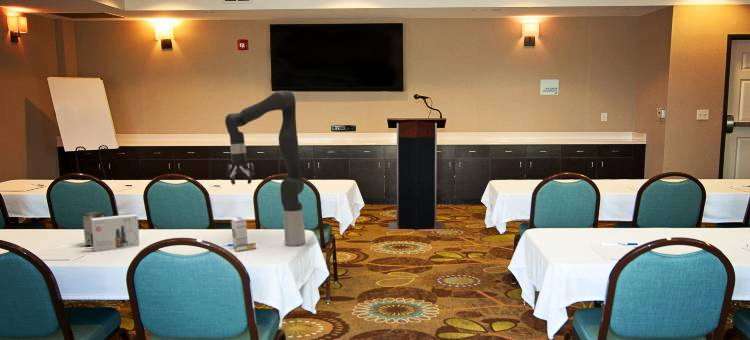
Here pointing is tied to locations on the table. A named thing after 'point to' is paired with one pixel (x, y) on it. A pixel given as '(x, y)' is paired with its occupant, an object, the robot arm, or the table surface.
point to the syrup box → (239, 231)
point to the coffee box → (90, 225)
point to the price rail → (245, 247)
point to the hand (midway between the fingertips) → (241, 184)
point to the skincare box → (115, 232)
